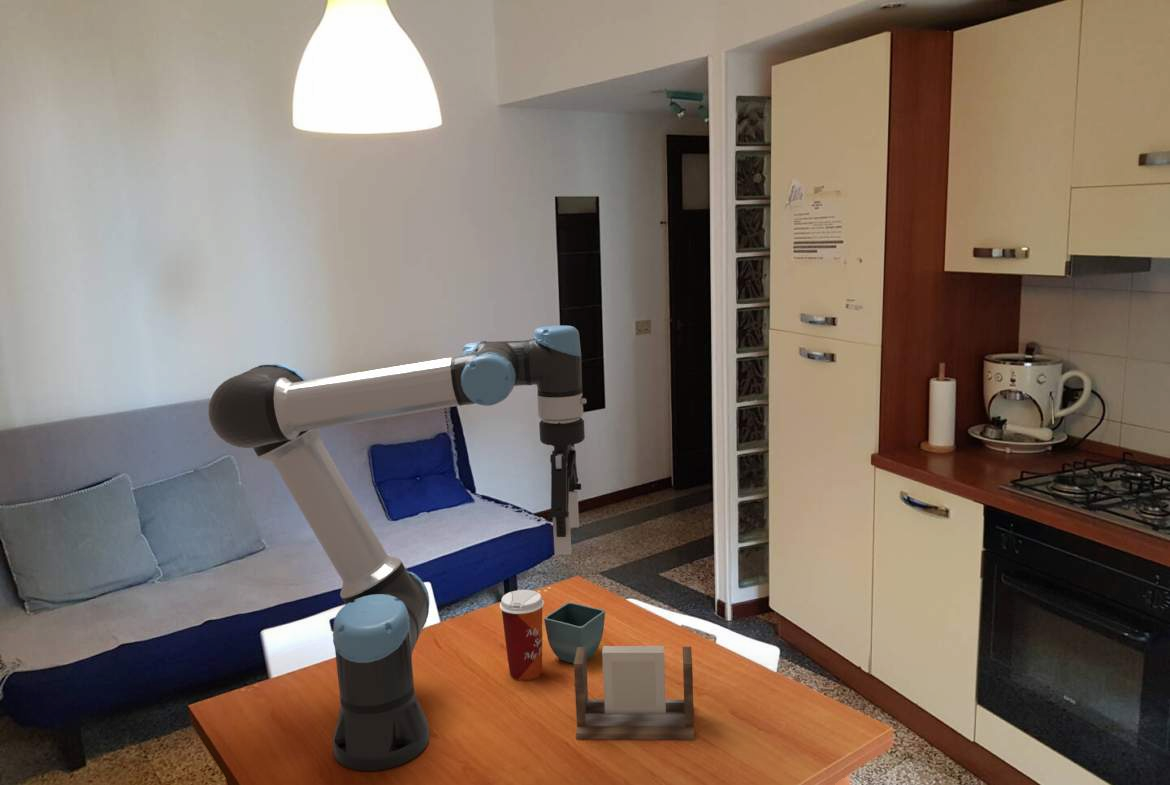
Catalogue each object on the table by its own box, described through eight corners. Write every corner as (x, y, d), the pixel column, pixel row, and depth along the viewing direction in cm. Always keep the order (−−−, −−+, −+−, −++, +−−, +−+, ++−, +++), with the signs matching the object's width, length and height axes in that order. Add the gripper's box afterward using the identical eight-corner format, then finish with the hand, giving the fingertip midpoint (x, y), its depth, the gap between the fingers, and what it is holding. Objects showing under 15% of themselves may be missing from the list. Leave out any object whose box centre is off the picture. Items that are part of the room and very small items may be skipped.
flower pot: (608, 653, 173) (606, 609, 171) (583, 672, 166) (581, 627, 164) (570, 643, 178) (568, 601, 176) (545, 662, 170) (542, 618, 169)
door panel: (605, 720, 147) (602, 653, 145) (606, 712, 150) (603, 646, 147) (665, 721, 146) (663, 653, 144) (665, 713, 149) (663, 645, 147)
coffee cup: (541, 685, 162) (537, 607, 159) (498, 682, 163) (493, 605, 161) (552, 663, 170) (548, 588, 167) (511, 660, 172) (506, 587, 169)
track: (576, 738, 144) (572, 669, 142) (581, 706, 154) (578, 641, 152) (694, 739, 142) (692, 670, 140) (692, 707, 152) (690, 641, 150)
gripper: (576, 434, 137) (582, 566, 140) (589, 403, 161) (594, 516, 165) (528, 436, 137) (535, 566, 141) (548, 404, 162) (554, 517, 165)
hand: (567, 540), depth 153 cm, fingers open, 13 cm apart
